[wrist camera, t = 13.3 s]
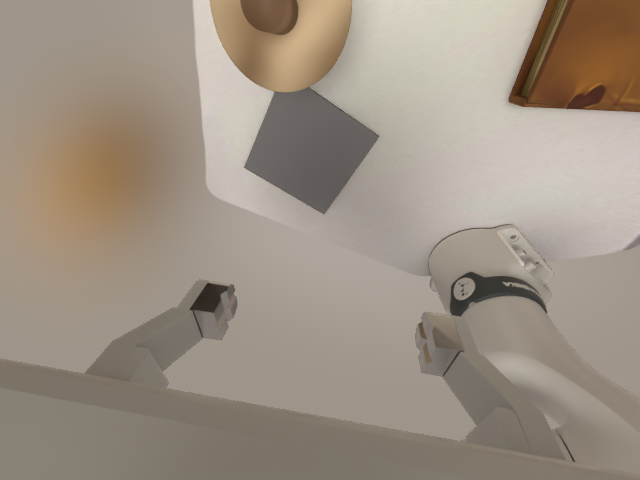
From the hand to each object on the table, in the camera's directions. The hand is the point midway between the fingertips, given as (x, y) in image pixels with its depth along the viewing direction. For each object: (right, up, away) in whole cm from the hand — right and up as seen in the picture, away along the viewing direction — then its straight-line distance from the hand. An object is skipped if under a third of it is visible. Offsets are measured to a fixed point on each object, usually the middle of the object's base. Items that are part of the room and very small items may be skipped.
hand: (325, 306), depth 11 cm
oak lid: (-3, +21, +9) cm, 23 cm away
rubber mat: (-2, +17, +31) cm, 35 cm away
